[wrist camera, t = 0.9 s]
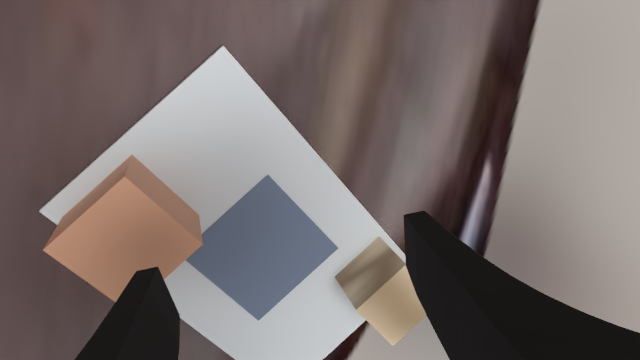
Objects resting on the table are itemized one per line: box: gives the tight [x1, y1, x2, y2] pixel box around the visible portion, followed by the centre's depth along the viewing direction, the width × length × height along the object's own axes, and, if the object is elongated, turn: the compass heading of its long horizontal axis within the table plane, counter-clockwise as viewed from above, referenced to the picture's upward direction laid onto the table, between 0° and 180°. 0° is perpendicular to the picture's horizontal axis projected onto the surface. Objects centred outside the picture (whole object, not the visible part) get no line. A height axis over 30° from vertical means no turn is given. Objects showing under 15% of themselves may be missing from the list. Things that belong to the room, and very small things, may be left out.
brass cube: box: [335, 237, 426, 346], centre depth 30 cm, size 4×4×4 cm
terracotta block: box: [43, 155, 203, 302], centre depth 24 cm, size 5×5×4 cm
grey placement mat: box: [39, 45, 406, 360], centre depth 29 cm, size 13×20×1 cm, turn 40°
